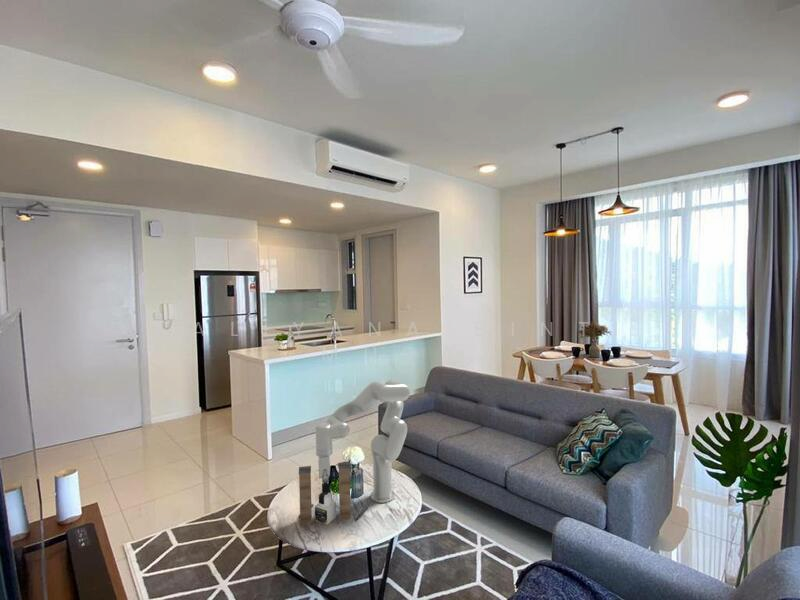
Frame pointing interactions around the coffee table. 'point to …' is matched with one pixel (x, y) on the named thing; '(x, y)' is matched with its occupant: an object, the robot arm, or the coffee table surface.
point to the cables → (357, 516)
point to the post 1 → (305, 495)
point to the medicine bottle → (325, 508)
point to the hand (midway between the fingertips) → (325, 486)
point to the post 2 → (344, 490)
